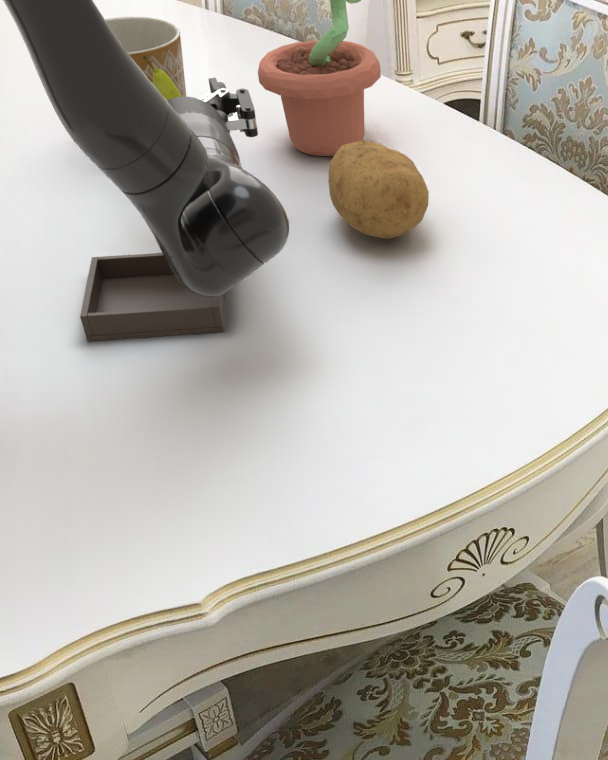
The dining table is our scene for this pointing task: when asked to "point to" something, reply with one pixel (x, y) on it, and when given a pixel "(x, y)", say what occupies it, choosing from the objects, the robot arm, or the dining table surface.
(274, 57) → the decorative flower
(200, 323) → the tray
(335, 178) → the potato
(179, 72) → the planter
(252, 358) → the dining table surface
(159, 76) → the fruit
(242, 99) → the robot arm
